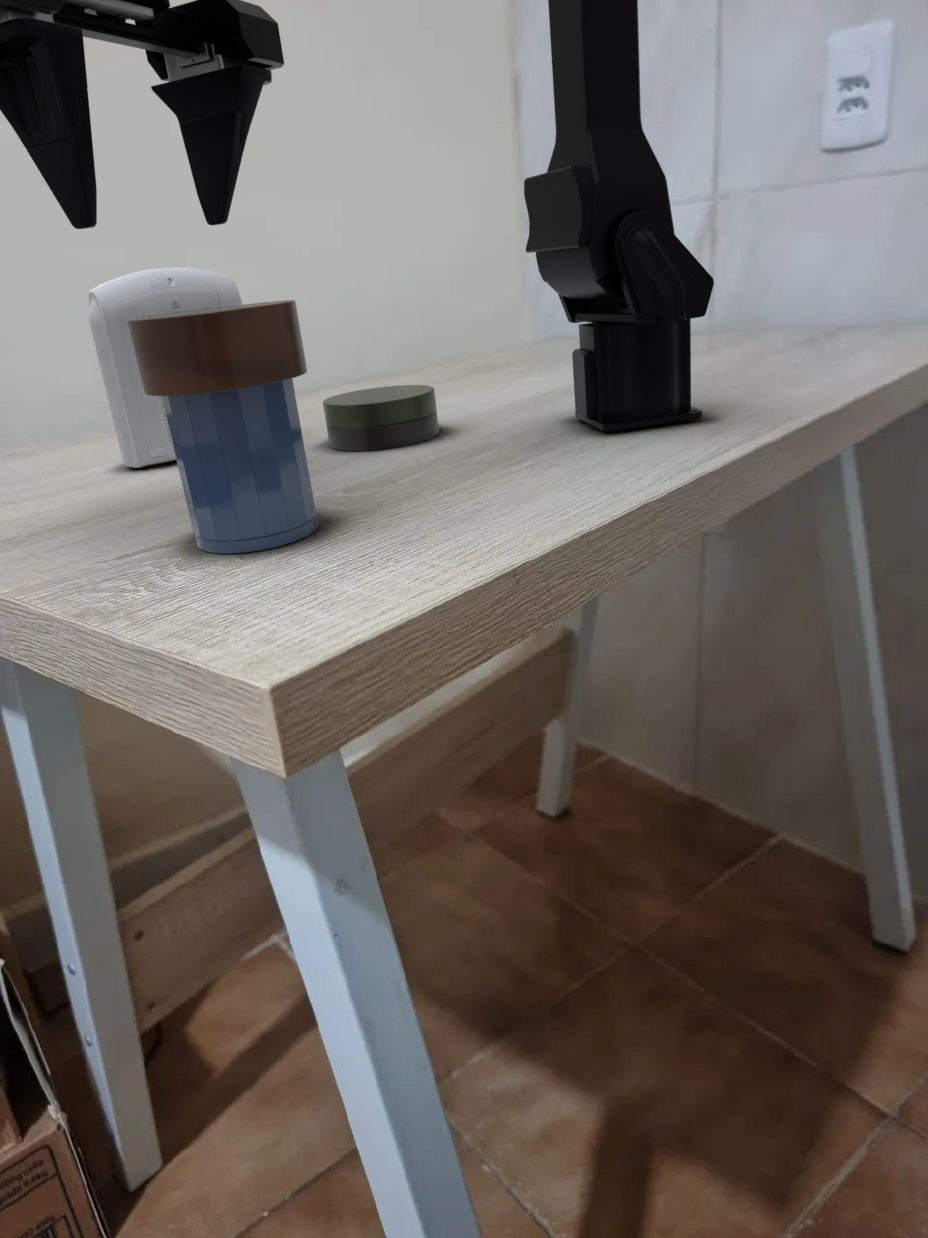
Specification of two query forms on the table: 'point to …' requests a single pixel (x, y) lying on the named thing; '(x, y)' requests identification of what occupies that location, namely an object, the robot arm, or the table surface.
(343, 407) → the green and grey disc
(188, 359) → the walnut chip
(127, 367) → the photo printer
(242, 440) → the blue cup
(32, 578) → the table surface
